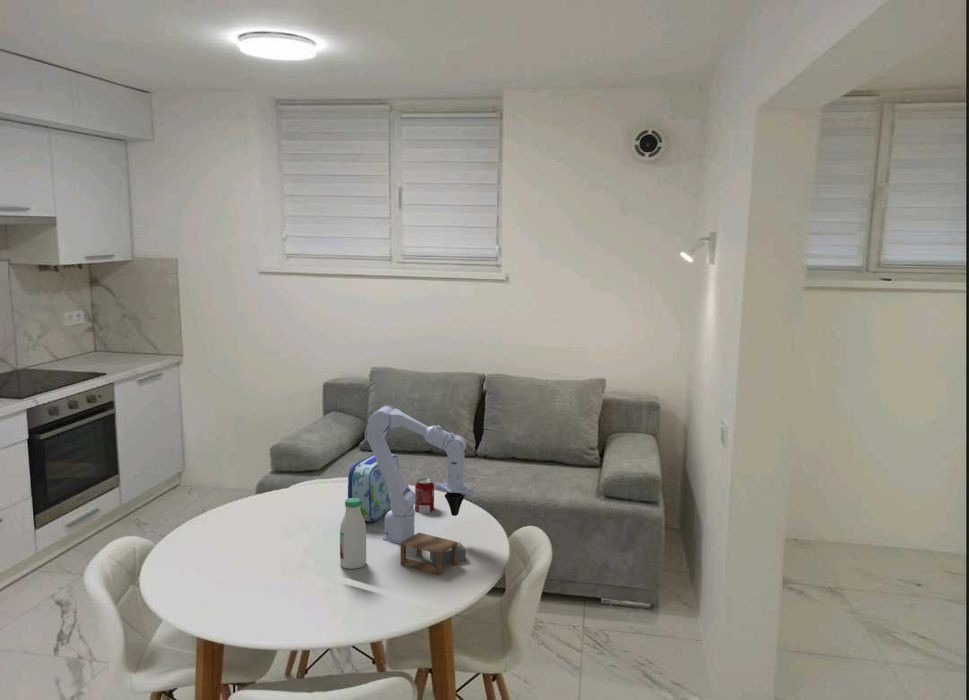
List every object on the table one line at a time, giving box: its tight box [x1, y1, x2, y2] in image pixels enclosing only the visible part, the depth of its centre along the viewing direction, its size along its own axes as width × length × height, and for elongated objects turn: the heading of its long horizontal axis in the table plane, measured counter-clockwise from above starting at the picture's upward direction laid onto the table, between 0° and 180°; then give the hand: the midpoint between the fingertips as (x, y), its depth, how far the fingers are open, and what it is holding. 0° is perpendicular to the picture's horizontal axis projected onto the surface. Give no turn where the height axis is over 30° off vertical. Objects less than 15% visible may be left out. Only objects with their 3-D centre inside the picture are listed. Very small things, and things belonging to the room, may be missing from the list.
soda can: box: [414, 478, 435, 514], centre depth 267 cm, size 7×7×12 cm
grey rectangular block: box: [429, 540, 467, 566], centre depth 227 cm, size 4×10×6 cm, turn 110°
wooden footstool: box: [400, 532, 458, 577], centre depth 223 cm, size 14×10×7 cm
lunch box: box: [347, 453, 400, 523], centre depth 265 cm, size 26×11×21 cm, turn 164°
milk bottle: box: [339, 497, 367, 570], centre depth 221 cm, size 8×8×20 cm
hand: (454, 514), depth 239 cm, fingers closed
